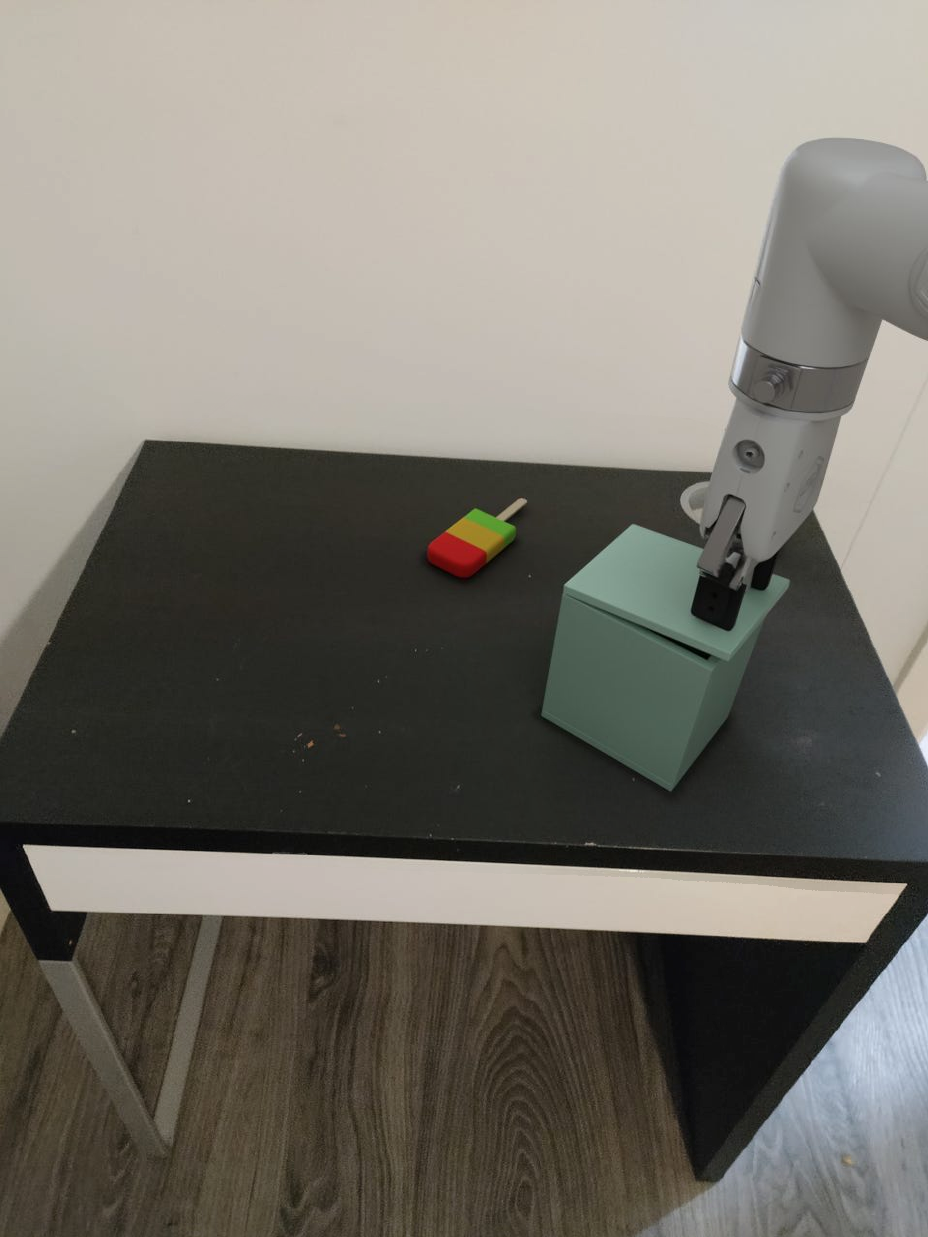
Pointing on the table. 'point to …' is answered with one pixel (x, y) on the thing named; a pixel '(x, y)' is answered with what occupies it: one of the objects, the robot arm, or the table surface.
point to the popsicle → (473, 541)
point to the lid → (667, 590)
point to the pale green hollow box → (638, 690)
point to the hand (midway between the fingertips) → (729, 599)
